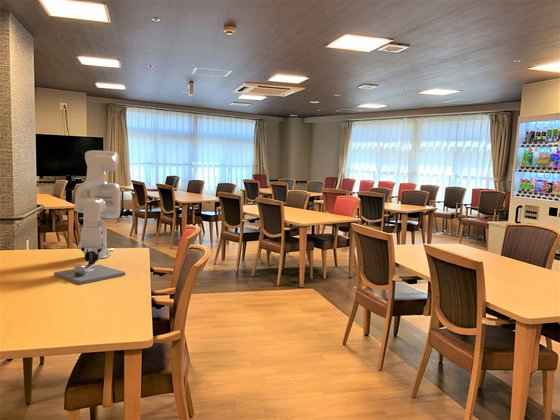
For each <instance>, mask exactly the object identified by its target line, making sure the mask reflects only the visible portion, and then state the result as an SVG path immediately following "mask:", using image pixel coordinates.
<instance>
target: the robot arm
mask: <svg viewBox="0 0 560 420" xmlns="http://www.w3.org/2000/svg"><path fill="white" fill-rule="evenodd" d="M84 160H85V163H86V166H87V168H86V169H87V170H86V179H85V180H84V181H83V182H82V183H81V184H80V185H79V186H78V188H77V190H76V192H75V198H74V199H75V200H74V209H75V211H76V212H77V213H82V214H83V226H82V227H81V231H80V241H79V243H78V245H77V249H79V250H81V251H82V252H83V254H84V260H85V262H86V263H88V251H95V254H94V262H95V263H97V262H98V260H99V259H100V260H101V259H107V258H109V257H110V254H109V253H111V252H112V253H113V252H115V248H108V246H107V245H108V244H107V241H108V240H107V237H108V236H107V235H108V233H107V232H108V230H107V227H108V226H107V224H106V223H105V221H104V220H103V219H119V217H120V215H121V187H120V185H119V184H118V183H116V182H107V179H108V177H107V175H108V174H107V172H116V171H117V169H118V165H119V161H120V159H119V154H118V153H117V152H116V151H111V150H109V151H108V150H94V149H93V150H87V151H86V152H85V153H84ZM88 191H89V193H90V197H83V195H84V194H85V193H86V192H88ZM105 200H110V201H105Z"/></svg>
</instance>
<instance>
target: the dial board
mask: <svg viewBox="0 0 560 420" xmlns="http://www.w3.org/2000/svg"><path fill="white" fill-rule="evenodd" d="M53 275H54V277H58V278H61V279H63V280H66V281H69V282H72V283H74V284H77V285H85V284H91V283H95V282H101V281H104V280H108V279H115V278H119V277H123V276H124V277H125V276H126V271H122V270H119V269H116V268H112V267H108V266H105V265H103V264H95V266H94V267H93V268H91V269H90V270H88V271H87V272H85V275H81V276H76V275H75V268H72V269H66V270H65V269H64V270H61V271H54V272H53Z"/></svg>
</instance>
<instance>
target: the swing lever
mask: <svg viewBox="0 0 560 420" xmlns="http://www.w3.org/2000/svg"><path fill="white" fill-rule="evenodd" d="M94 254H95V251H88V262H87V264H86V265H84V264H77V265H74V269H75V275H76V276H81V275H85V272H87V271H88V270H90V269H91V268H93V267H94V266H95V265H96V262H94Z"/></svg>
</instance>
